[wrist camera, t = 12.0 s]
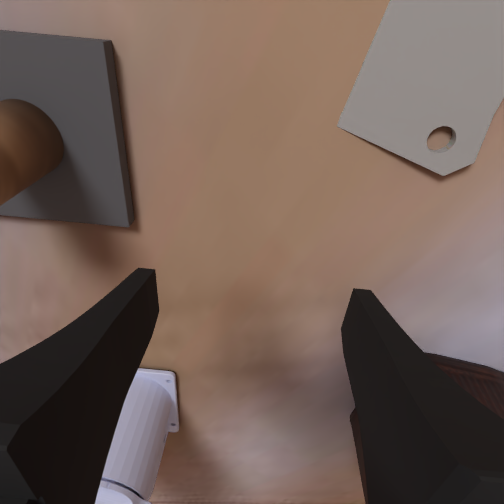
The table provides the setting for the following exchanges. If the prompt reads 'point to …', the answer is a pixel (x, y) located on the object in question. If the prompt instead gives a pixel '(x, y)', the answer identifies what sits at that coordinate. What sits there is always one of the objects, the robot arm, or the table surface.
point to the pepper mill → (465, 375)
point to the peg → (26, 146)
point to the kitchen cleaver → (430, 80)
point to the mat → (71, 127)
